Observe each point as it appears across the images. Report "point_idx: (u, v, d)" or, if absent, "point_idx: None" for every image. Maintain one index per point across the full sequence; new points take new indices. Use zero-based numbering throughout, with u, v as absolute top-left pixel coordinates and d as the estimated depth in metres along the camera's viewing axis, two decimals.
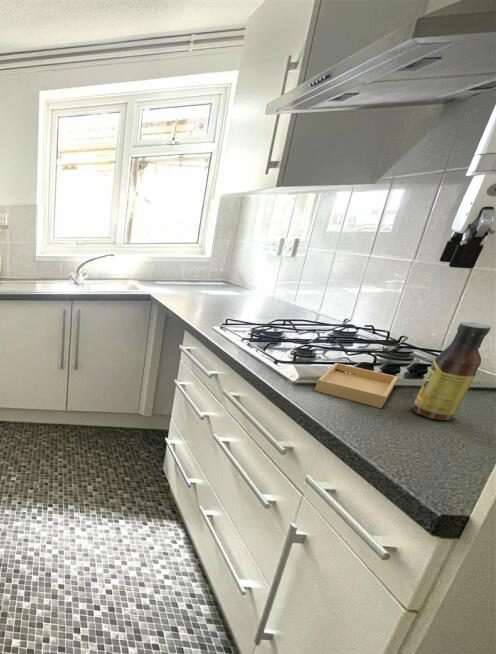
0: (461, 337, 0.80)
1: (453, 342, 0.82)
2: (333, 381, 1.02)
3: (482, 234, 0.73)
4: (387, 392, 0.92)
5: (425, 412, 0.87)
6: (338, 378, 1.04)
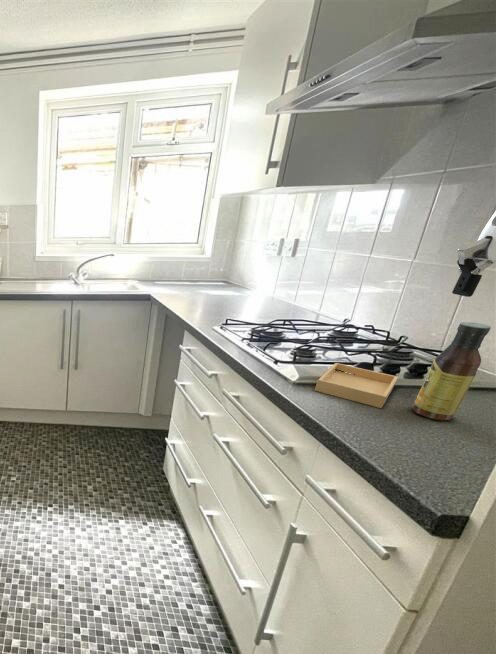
0: (461, 337, 0.80)
1: (453, 342, 0.82)
2: (333, 381, 1.02)
3: (463, 261, 0.75)
4: (387, 392, 0.92)
5: (425, 412, 0.87)
6: (338, 378, 1.04)
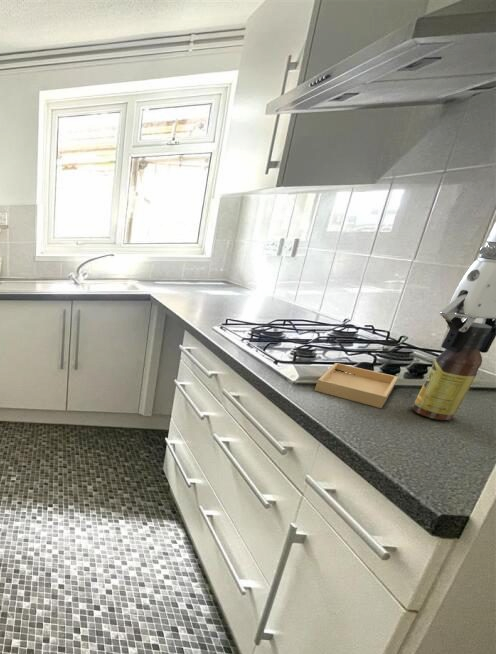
0: None
1: None
2: (333, 381, 1.02)
3: (450, 321, 0.80)
4: (387, 392, 0.92)
5: (425, 412, 0.86)
6: (338, 378, 1.04)
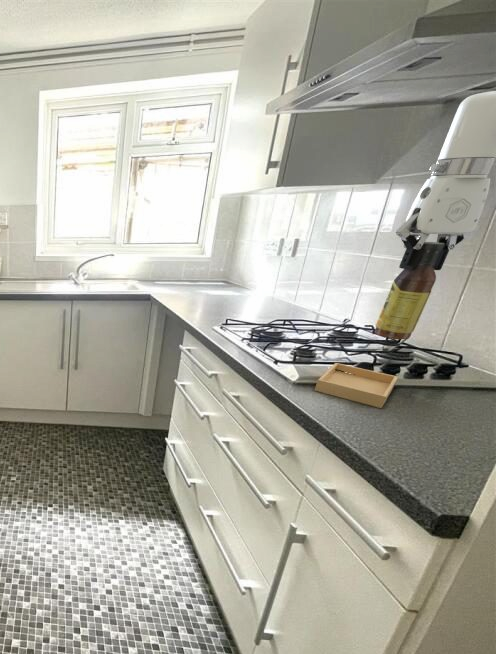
0: None
1: None
2: (333, 381, 1.02)
3: (405, 239, 0.84)
4: (387, 392, 0.92)
5: (385, 332, 0.91)
6: (338, 378, 1.04)
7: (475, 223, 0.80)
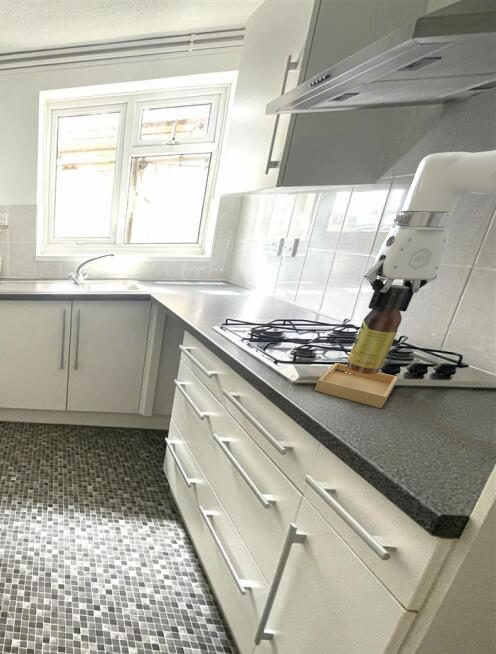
0: None
1: None
2: (333, 381, 1.02)
3: (373, 283, 0.90)
4: (387, 392, 0.92)
5: (355, 367, 0.97)
6: (338, 378, 1.04)
7: (436, 270, 0.86)
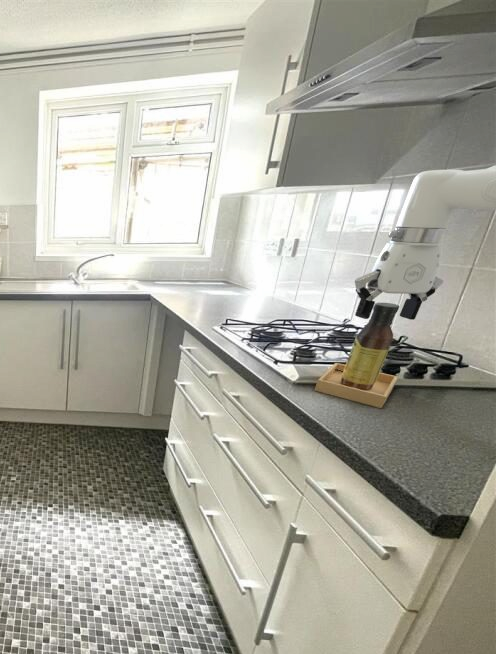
0: (375, 315, 0.92)
1: (370, 320, 0.94)
2: (333, 381, 1.02)
3: (359, 290, 0.90)
4: (387, 392, 0.92)
5: (349, 383, 0.98)
6: (338, 378, 1.04)
7: (430, 284, 0.87)
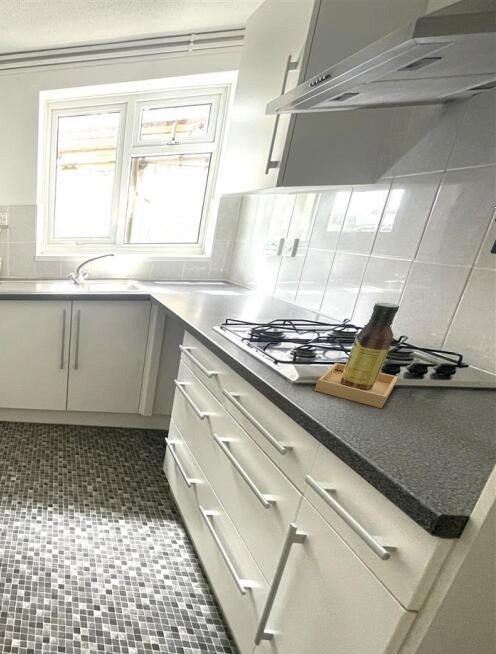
0: (375, 315, 0.92)
1: (370, 320, 0.94)
2: (333, 381, 1.02)
3: None
4: (387, 392, 0.92)
5: (349, 383, 0.98)
6: (338, 378, 1.04)
7: None
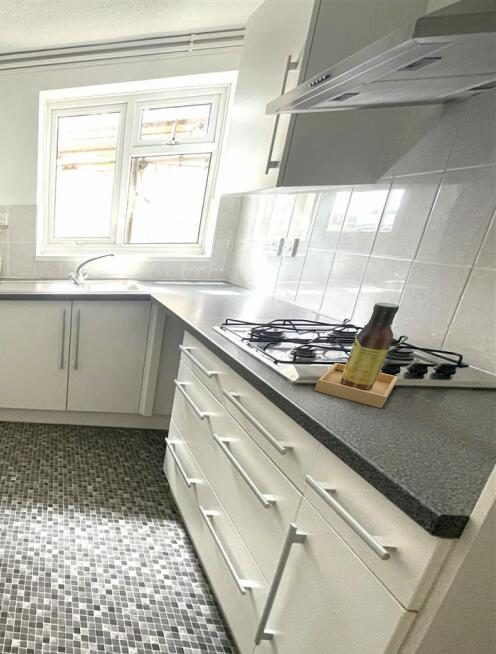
0: (375, 315, 0.92)
1: (370, 320, 0.94)
2: (333, 381, 1.02)
3: None
4: (387, 392, 0.92)
5: (349, 383, 0.98)
6: (338, 378, 1.04)
7: None
